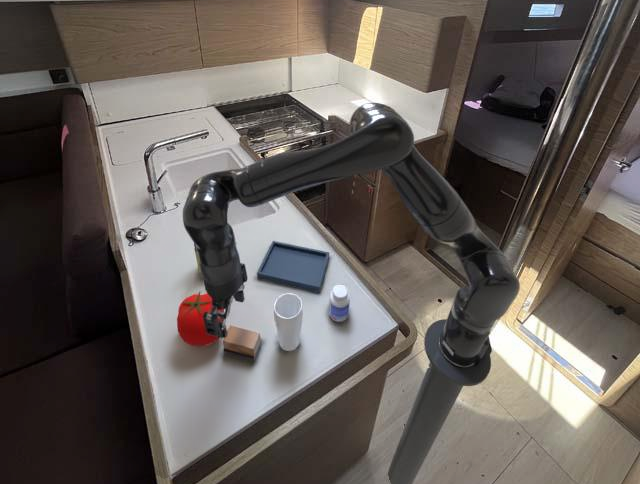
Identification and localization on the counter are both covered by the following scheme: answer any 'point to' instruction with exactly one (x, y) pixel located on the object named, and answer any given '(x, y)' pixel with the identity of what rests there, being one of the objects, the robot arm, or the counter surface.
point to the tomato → (195, 320)
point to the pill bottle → (339, 303)
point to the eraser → (242, 343)
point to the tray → (294, 266)
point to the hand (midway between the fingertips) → (231, 317)
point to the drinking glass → (288, 320)
